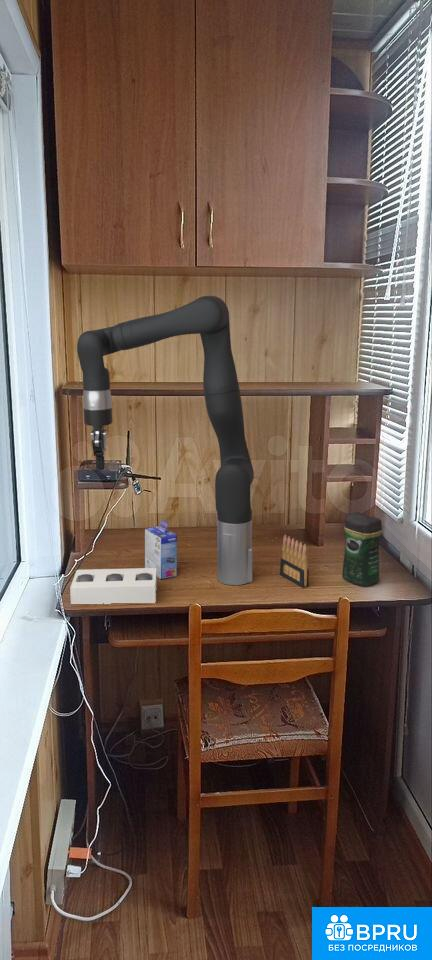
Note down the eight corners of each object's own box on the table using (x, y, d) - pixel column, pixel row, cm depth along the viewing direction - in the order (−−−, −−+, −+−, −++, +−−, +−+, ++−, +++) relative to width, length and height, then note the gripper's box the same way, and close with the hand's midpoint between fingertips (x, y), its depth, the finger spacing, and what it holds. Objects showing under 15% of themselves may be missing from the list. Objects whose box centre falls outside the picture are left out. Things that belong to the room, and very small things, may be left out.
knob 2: (151, 587, 184) (151, 572, 183) (151, 592, 181) (150, 578, 179) (137, 587, 184) (137, 573, 183) (137, 593, 180) (136, 578, 179)
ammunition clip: (308, 586, 187) (310, 544, 184) (303, 588, 186) (304, 545, 183) (285, 573, 196) (285, 532, 193) (279, 574, 195) (280, 533, 192)
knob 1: (93, 588, 183) (93, 574, 182) (92, 594, 180) (91, 579, 179) (79, 588, 183) (79, 574, 182) (78, 594, 180) (77, 579, 179)
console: (157, 585, 188) (156, 567, 187) (155, 604, 177) (155, 585, 176) (77, 587, 187) (76, 569, 186) (71, 606, 176) (70, 588, 175)
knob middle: (122, 587, 184) (122, 573, 183) (121, 593, 180) (121, 578, 179) (109, 588, 183) (108, 573, 182) (107, 593, 180) (107, 579, 179)
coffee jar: (384, 582, 190) (388, 516, 185) (364, 589, 185) (367, 522, 180) (357, 571, 197) (360, 508, 193) (337, 578, 193) (339, 513, 188)
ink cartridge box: (178, 576, 195) (177, 526, 191) (161, 580, 192) (159, 530, 188) (161, 565, 203) (160, 517, 199) (144, 569, 200) (143, 520, 196)
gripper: (109, 410, 182) (112, 475, 187) (113, 402, 195) (116, 463, 199) (80, 410, 182) (83, 475, 186) (86, 402, 195) (89, 464, 199)
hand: (100, 469), depth 193 cm, fingers closed
